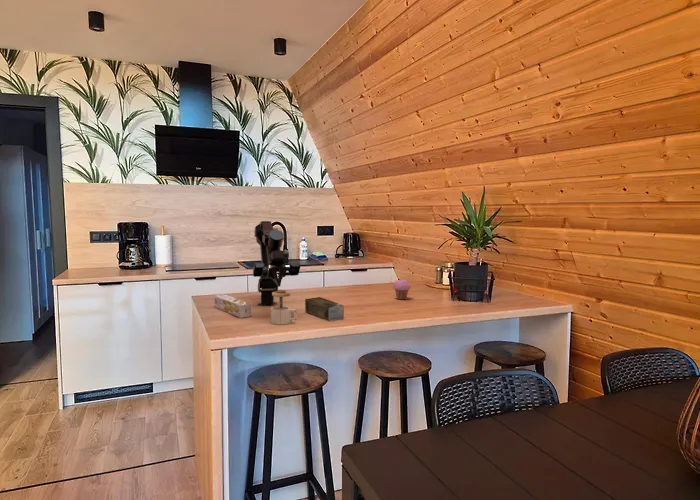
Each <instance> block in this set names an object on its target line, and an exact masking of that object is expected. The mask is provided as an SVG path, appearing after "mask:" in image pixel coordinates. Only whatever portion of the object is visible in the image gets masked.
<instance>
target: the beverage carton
mask: <svg viewBox="0 0 700 500" xmlns="http://www.w3.org/2000/svg"><path fill="white" fill-rule="evenodd" d="M304 302H305V303H304V305H305V306H304V308H305V313H307V314H309V313H310V315H312V316H314V315H315V317H318V318H319V317H320V318H319V319H322V320H324V319H325V321H327V320H328V322H332V321H331V320H333V321H337V319H339V320H344V319H343V318H345V315H344V314H345V311H344V310H345V308H344V307H345V305H343V304H341V303H339V302H335V301H332V300H330V299H328V298H323V297H321V296H318V297H311V298H305V300H304Z"/></svg>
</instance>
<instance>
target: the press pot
mask: <svg viewBox="0 0 700 500" xmlns="http://www.w3.org/2000/svg"><path fill="white" fill-rule="evenodd" d="M292 313H293V317H292ZM296 320H297V309H293V308H292V307H291V306H287V305H283V308H280V305H278V306H277V305H276V306H272V307H270V324H272V325H278V326H280V325H288V324H291V322H292V321H296Z"/></svg>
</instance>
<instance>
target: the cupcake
mask: <svg viewBox="0 0 700 500" xmlns="http://www.w3.org/2000/svg"><path fill="white" fill-rule="evenodd" d="M392 288H393V289H394V291H395V297H396V299H398V300H404V299H405V300H407V298H408V294H409V290H410V289H411V284H410V282H409V281H408V280H406V279H403V278H402V279H397V280H395V281H394V283H393V286H392Z"/></svg>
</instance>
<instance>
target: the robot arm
mask: <svg viewBox="0 0 700 500" xmlns="http://www.w3.org/2000/svg"><path fill="white" fill-rule="evenodd" d="M273 226H274V225H273V224H272V221H270V220H261V221H260V222H259V223H258V224H257V225H256V226H255V227H254V230H253V231H254V232H253V233H254V237H255V241H256V243H257V244H258V245H259V249H260V250H259V251H260V258H261V259H260V261H261V262H259V263H257V262H256V263H254V264H253V267H252V275H253V277H256V278H258V277H259V279H258V282H257V292H258V293H260V302H259V303H258V304H257V305H259V306H267V307H271V306H274V305H276V304H277V301H275V296H272V292H275V291H277V290H279V287H281V284H282V280H283V278H285V277H286V274H287V272H288V275H289V276H291V277H292V276H298V275H299V274H300V269H301V264H300V262H289V265H284V264H285V259H289V256H290V255H289V250H288V249H283V250H281V248H282V246H283V242H284V240H285V239H284V233H283V232H282V231H281V230H279V229H278V227H273Z"/></svg>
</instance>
